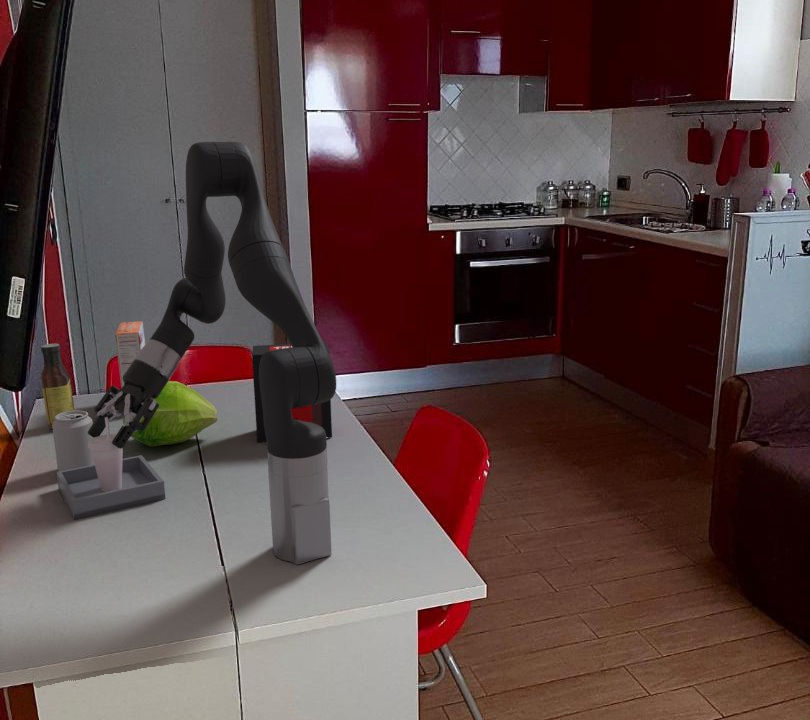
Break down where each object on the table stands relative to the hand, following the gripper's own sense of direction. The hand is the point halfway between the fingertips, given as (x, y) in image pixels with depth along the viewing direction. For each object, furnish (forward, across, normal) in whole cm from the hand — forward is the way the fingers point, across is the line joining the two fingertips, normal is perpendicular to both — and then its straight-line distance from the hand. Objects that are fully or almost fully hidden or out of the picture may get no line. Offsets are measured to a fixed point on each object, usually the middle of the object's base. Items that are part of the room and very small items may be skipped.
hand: (103, 441), depth 149 cm
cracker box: (-16, -45, +32) cm, 57 cm away
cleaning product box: (-24, +2, +39) cm, 46 cm away
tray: (+7, 0, +8) cm, 11 cm away
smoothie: (+6, 0, +7) cm, 10 cm away
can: (+6, -16, +9) cm, 20 cm away
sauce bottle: (-2, -45, +18) cm, 48 cm away
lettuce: (-10, -15, +25) cm, 31 cm away
